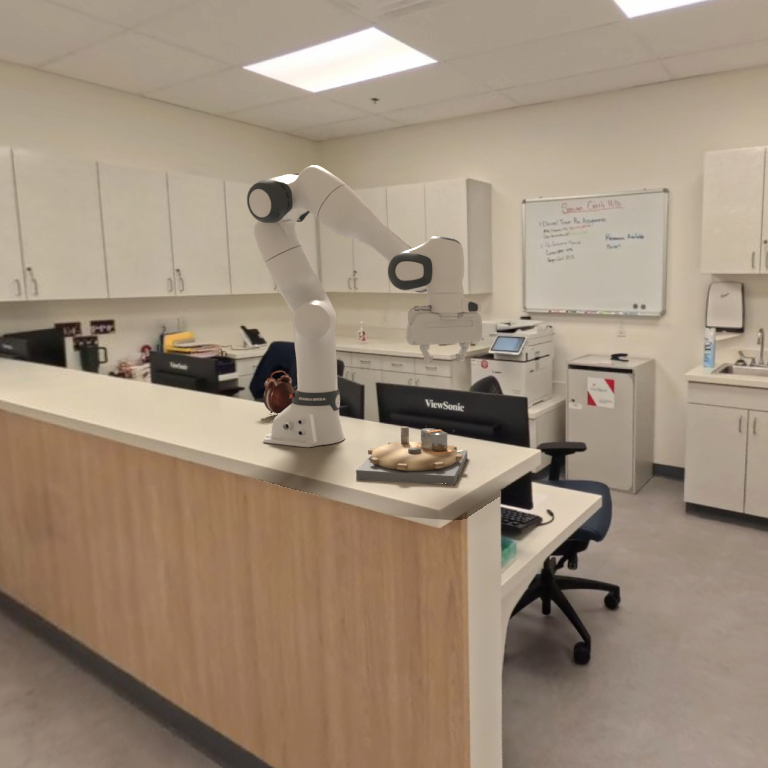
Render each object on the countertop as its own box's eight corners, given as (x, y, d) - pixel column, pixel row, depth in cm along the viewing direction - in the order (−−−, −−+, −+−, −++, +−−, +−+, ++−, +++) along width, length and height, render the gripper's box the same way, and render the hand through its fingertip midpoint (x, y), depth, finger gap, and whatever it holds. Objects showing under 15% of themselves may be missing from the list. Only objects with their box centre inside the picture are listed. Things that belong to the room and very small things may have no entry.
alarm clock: (287, 411, 220) (285, 368, 218) (297, 413, 217) (295, 369, 215) (262, 417, 212) (260, 372, 209) (272, 418, 209) (270, 373, 206)
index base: (356, 478, 142) (356, 469, 142) (381, 453, 164) (381, 445, 163) (454, 485, 137) (454, 475, 137) (467, 458, 158) (467, 449, 158)
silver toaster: (450, 450, 150) (450, 433, 149) (436, 453, 148) (436, 435, 147) (431, 443, 157) (431, 426, 156) (417, 445, 155) (417, 428, 154)
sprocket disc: (353, 468, 143) (352, 444, 142) (383, 444, 164) (383, 423, 163) (452, 475, 136) (452, 450, 135) (470, 449, 157) (470, 427, 156)
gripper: (415, 306, 146) (415, 366, 148) (486, 304, 156) (485, 361, 158) (401, 305, 152) (401, 363, 154) (470, 304, 161) (469, 358, 164)
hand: (444, 362), depth 156 cm, fingers open, 8 cm apart
